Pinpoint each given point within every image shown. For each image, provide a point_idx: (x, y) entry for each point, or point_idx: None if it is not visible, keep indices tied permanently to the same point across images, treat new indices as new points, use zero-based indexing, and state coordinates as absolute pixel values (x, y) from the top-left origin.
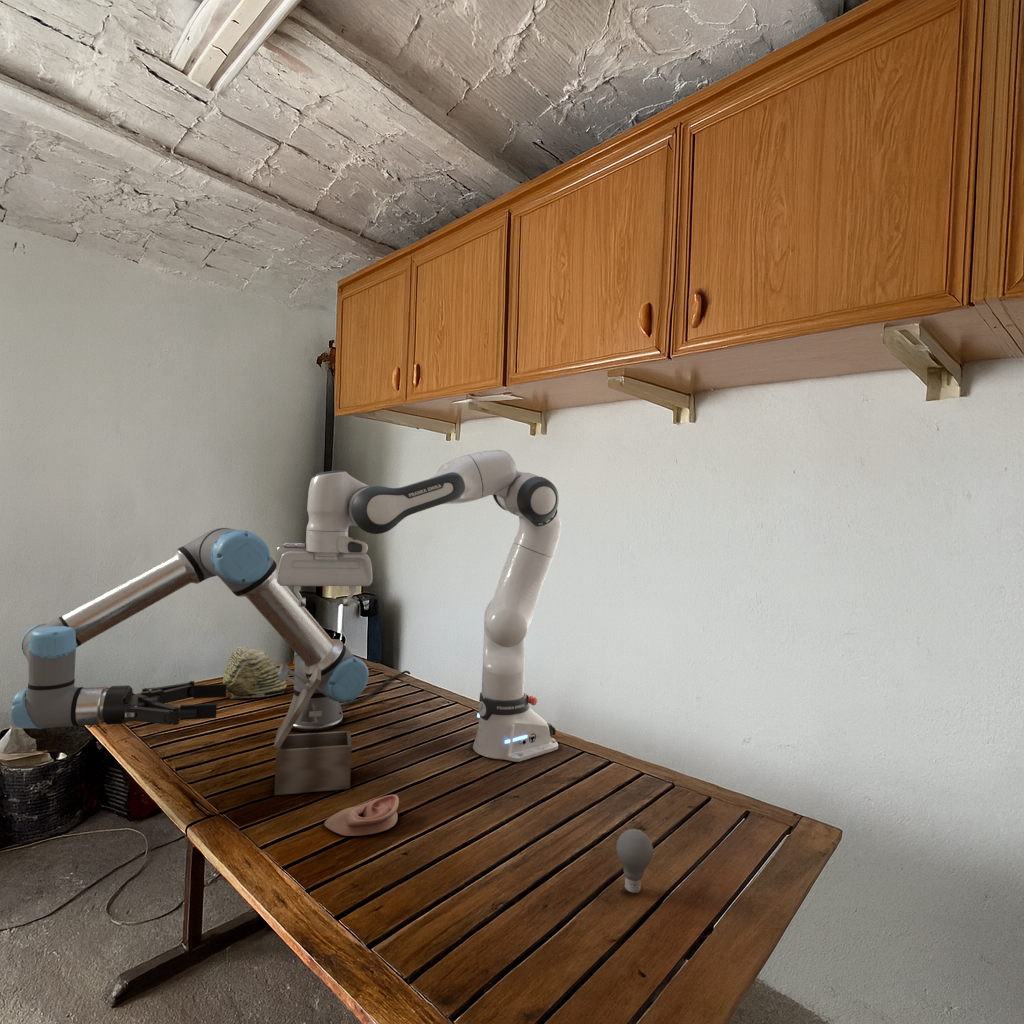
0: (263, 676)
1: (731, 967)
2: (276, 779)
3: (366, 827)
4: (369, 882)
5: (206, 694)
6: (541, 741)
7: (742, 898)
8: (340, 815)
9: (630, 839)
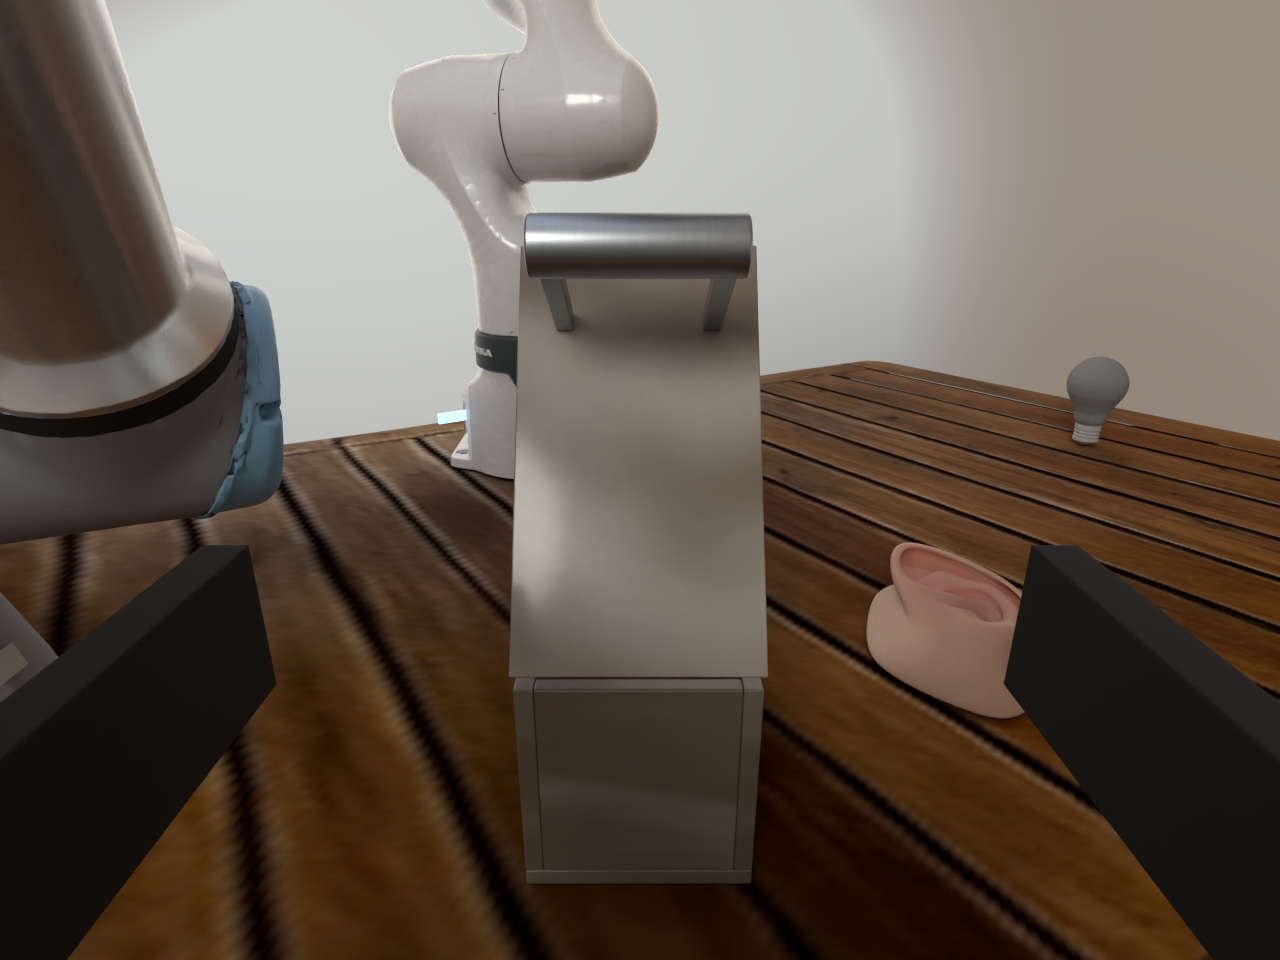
0: None
1: (1211, 431)
2: (754, 814)
3: None
4: (1268, 649)
5: (126, 821)
6: None
7: (1054, 407)
8: (992, 660)
9: (1119, 365)
